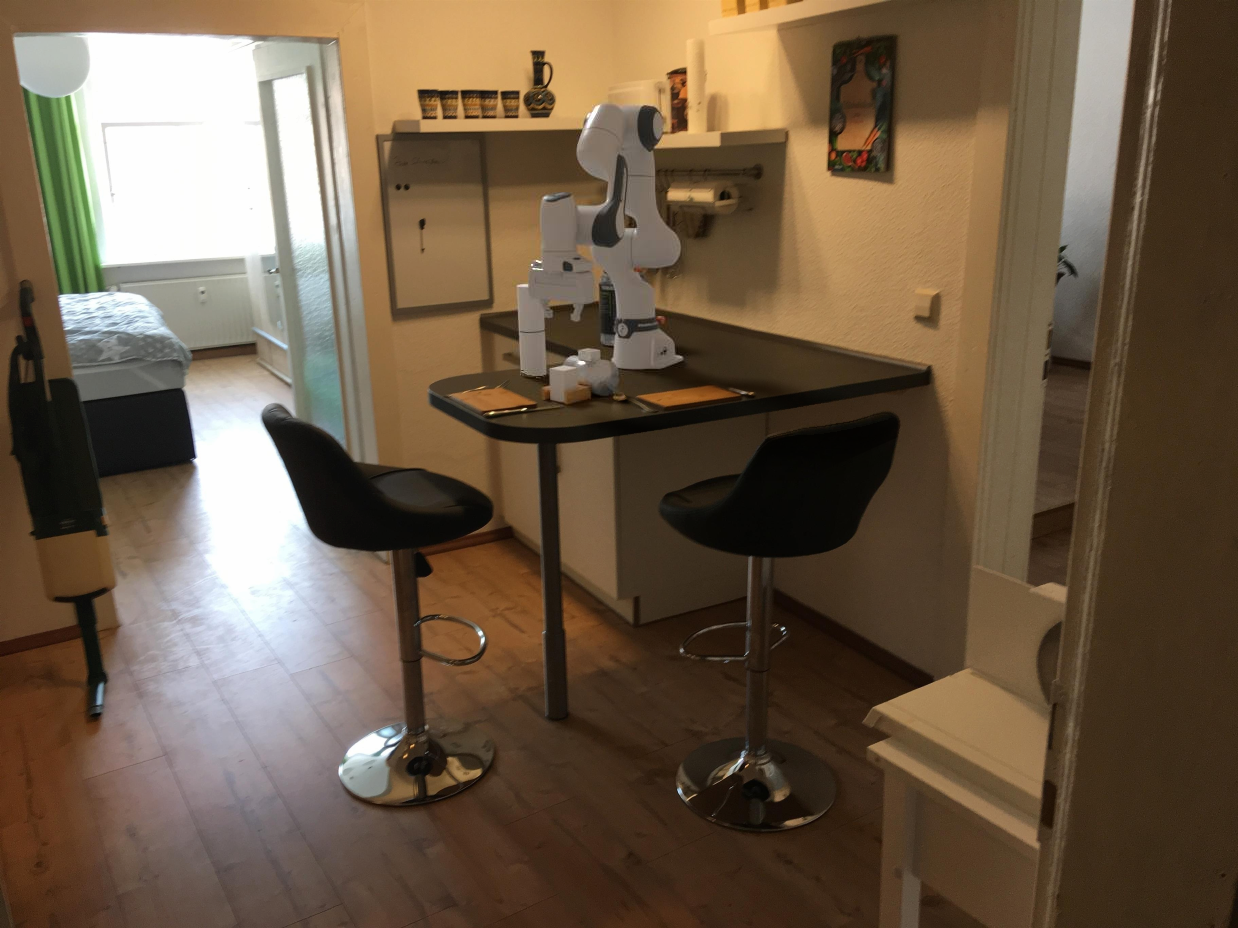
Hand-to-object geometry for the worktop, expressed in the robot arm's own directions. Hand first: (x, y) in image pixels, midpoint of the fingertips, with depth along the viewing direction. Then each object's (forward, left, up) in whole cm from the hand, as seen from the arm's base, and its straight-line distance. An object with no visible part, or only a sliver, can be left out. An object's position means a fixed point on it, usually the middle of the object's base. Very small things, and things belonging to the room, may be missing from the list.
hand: (561, 319), depth 246 cm
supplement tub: (-69, -41, -20) cm, 83 cm away
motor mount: (-5, 0, -20) cm, 21 cm away
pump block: (0, 0, -20) cm, 20 cm away
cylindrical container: (-16, -28, -20) cm, 38 cm away
